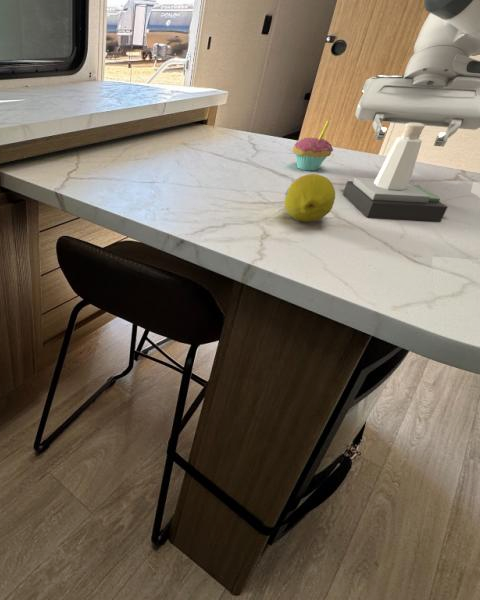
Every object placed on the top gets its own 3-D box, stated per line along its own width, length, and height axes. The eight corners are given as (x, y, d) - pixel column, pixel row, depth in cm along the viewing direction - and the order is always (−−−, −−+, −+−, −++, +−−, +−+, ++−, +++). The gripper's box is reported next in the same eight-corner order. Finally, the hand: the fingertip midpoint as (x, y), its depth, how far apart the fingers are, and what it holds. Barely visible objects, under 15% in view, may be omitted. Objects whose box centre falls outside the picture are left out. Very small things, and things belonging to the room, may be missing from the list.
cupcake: (333, 169, 101) (350, 116, 95) (313, 175, 97) (330, 120, 91) (300, 161, 107) (314, 111, 101) (280, 166, 103) (294, 115, 97)
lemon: (285, 207, 80) (297, 165, 76) (330, 215, 76) (345, 171, 72) (272, 225, 72) (284, 180, 68) (321, 235, 69) (337, 188, 64)
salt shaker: (409, 185, 78) (436, 123, 72) (404, 192, 75) (433, 127, 69) (376, 180, 81) (399, 119, 75) (370, 186, 78) (394, 123, 72)
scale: (405, 197, 84) (414, 178, 82) (440, 221, 74) (451, 200, 71) (342, 194, 86) (349, 175, 84) (367, 217, 75) (375, 196, 73)
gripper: (370, 62, 80) (347, 124, 79) (509, 66, 71) (486, 137, 69) (364, 86, 86) (342, 144, 84) (492, 92, 76) (470, 158, 75)
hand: (408, 141), depth 77 cm, fingers open, 8 cm apart
